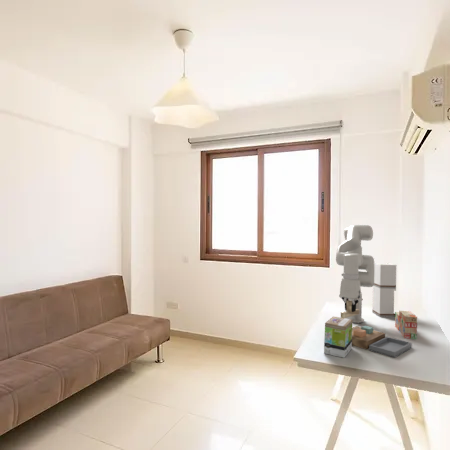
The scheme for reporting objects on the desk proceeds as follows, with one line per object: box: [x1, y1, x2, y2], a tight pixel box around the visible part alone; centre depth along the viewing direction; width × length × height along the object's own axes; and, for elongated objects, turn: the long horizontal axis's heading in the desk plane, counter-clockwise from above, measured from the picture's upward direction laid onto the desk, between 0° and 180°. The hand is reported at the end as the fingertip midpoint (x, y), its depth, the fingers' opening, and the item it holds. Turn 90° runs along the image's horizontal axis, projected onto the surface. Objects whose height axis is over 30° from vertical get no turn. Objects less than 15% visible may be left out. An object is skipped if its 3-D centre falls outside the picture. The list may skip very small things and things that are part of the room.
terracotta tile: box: [353, 329, 366, 337], centre depth 174 cm, size 4×4×2 cm
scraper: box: [340, 300, 359, 318], centre depth 182 cm, size 3×16×8 cm, turn 131°
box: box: [368, 336, 413, 359], centre depth 166 cm, size 12×20×2 cm, turn 131°
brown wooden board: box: [352, 325, 386, 350], centre depth 177 cm, size 16×20×4 cm
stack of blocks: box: [394, 310, 418, 340], centre depth 192 cm, size 21×6×12 cm, turn 165°
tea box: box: [323, 316, 353, 359], centre depth 162 cm, size 15×10×15 cm
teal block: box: [360, 325, 374, 334], centre depth 179 cm, size 4×4×2 cm
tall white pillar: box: [371, 262, 397, 318], centre depth 230 cm, size 11×11×35 cm
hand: (350, 310), depth 182 cm, fingers closed on scraper, 3 cm apart
